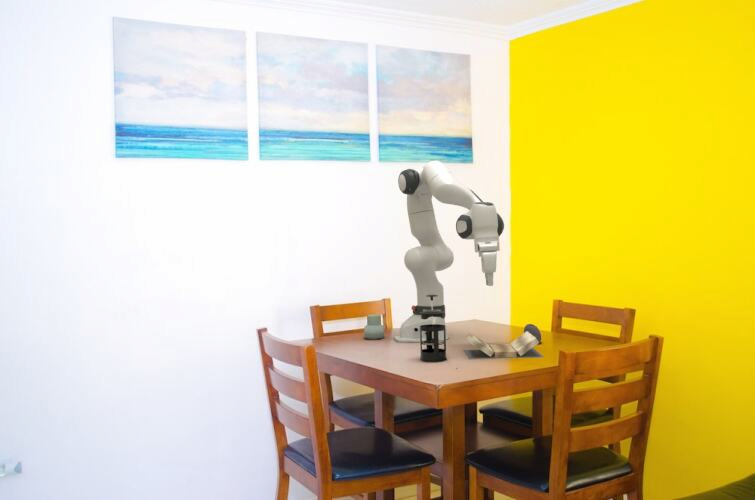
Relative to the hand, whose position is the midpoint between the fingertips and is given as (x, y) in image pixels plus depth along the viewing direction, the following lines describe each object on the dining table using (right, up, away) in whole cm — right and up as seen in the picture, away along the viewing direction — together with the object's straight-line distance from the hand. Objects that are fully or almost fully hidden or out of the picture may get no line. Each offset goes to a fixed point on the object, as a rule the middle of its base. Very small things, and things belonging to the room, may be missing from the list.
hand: (489, 285), depth 250 cm
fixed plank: (+5, -24, +2) cm, 25 cm away
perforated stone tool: (+21, -24, +25) cm, 41 cm away
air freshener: (-41, -25, +50) cm, 69 cm away
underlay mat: (+5, -25, +2) cm, 26 cm away
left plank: (-4, -22, +2) cm, 22 cm away
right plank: (+13, -22, +1) cm, 25 cm away
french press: (-20, -26, -2) cm, 33 cm away
